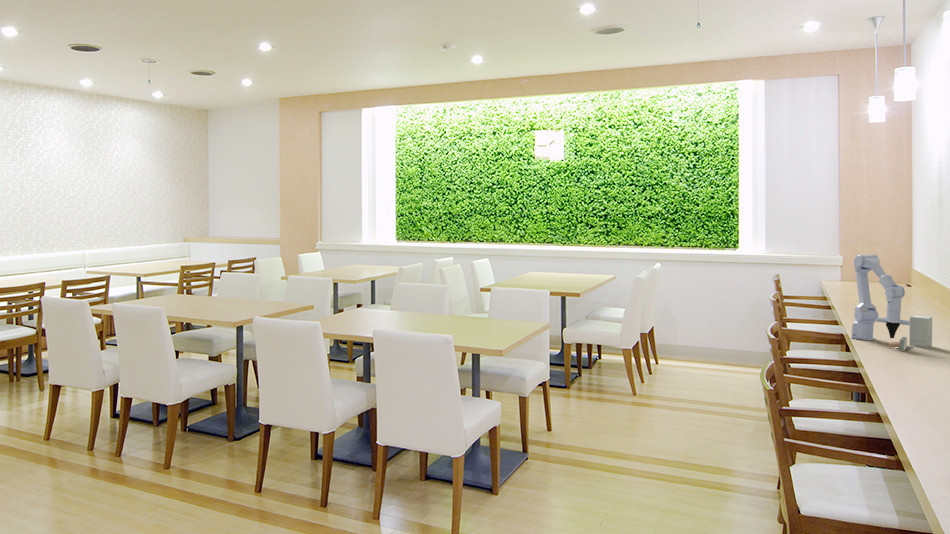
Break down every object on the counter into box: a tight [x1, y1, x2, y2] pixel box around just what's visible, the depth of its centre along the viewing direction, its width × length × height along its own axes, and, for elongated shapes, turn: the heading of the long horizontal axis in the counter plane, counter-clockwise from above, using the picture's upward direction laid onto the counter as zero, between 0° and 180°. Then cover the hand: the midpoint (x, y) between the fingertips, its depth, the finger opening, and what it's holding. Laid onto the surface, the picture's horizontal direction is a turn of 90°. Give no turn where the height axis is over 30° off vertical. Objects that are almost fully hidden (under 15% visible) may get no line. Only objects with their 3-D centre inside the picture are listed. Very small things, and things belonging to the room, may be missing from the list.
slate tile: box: [898, 336, 908, 353], centre depth 321 cm, size 2×6×6 cm, turn 136°
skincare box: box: [908, 315, 933, 349], centre depth 332 cm, size 8×6×15 cm
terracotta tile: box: [889, 341, 900, 348], centre depth 329 cm, size 2×6×6 cm
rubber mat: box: [897, 345, 914, 351], centre depth 328 cm, size 8×10×1 cm
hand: (892, 337), depth 330 cm, fingers closed
